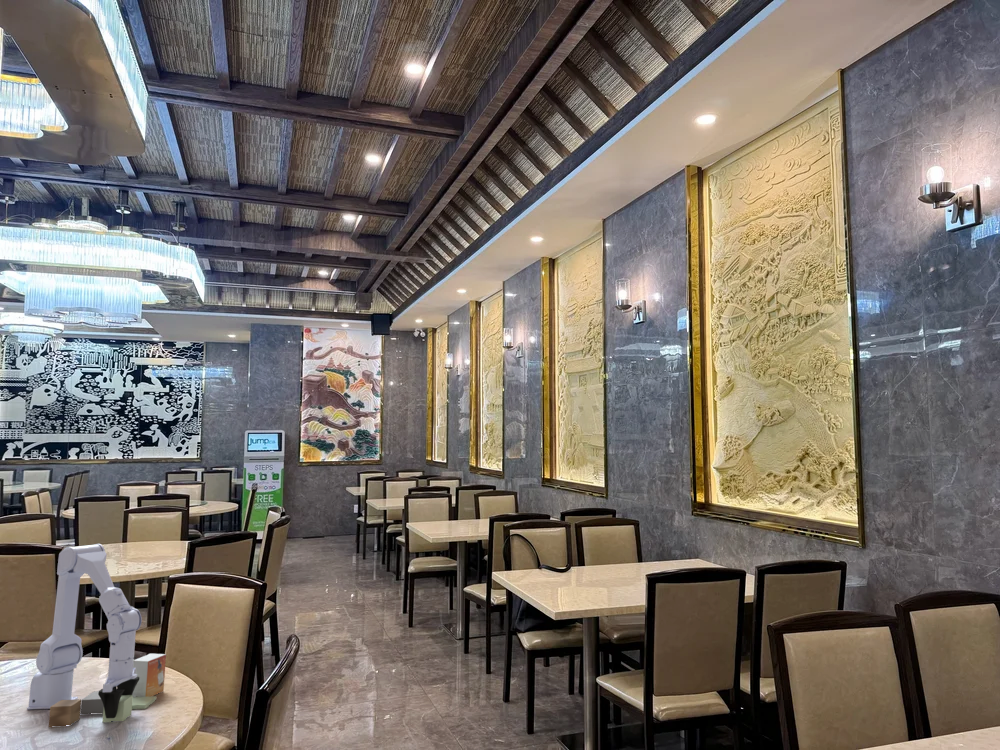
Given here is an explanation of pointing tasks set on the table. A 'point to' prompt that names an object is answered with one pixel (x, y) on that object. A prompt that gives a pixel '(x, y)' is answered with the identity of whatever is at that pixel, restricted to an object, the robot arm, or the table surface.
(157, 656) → the small box
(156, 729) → the table surface
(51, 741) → the table surface
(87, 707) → the charcoal base block
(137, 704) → the sage green tile
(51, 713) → the walnut block
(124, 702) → the sage green block
